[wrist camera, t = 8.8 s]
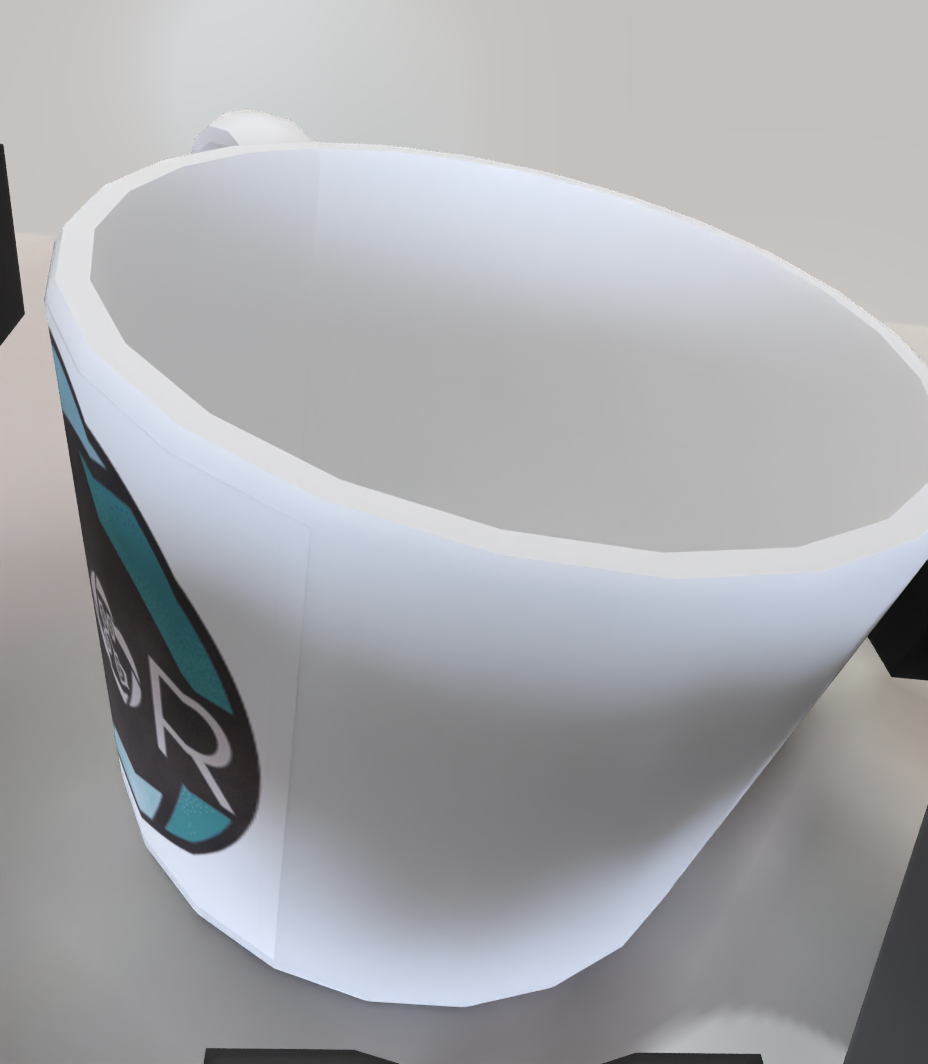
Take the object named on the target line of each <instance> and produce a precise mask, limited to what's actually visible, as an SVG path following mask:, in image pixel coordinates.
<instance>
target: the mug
mask: <svg viewBox="0 0 928 1064" xmlns="http://www.w3.org/2000/svg"><path fill="white" fill-rule="evenodd" d="M44 302H45V308H46V314H47V320H48V326H49V332H50V338H51V345H52V351H53V357H54V363H55V369H56V375H57V381H58V388H59V394H60V400H61V406H62V412H63V418H64V425H65V431H66V437H67V443H68V449H69V455H70V461H71V468H72V474H73V480H74V486H75V492H76V498H77V504H78V511H79V517H80V523H81V529H82V535H83V541H84V547H85V554H86V560H87V566H88V572H89V578H90V584H91V590H92V597H93V603H94V609H95V615H96V621H97V627H98V633H99V640H100V646H101V652H102V658H103V664H104V670H105V677H106V683H107V689H108V695H109V701H110V707H111V713H112V720H113V726H114V732H115V738H116V744H117V750H118V756H119V763H120V767H121V775H122V778H123V781H124V784H125V787H126V790H127V793H128V796H129V799H130V801H131V804H132V807H133V810H134V813H135V816H136V819H137V822H138V825H139V828H140V831H141V834H142V837H143V840H144V843H145V846H146V847H147V849H148V850H149V851H150V852H151V854H152V855H153V856H154V858H155V859H156V860H157V862H158V863H159V864H160V866H161V867H162V868H163V870H164V871H165V872H166V873H167V875H168V876H169V877H170V879H171V880H172V881H173V883H174V884H175V885H176V887H177V888H178V889H179V891H180V892H181V893H182V894H183V896H184V897H185V898H186V900H187V901H188V902H189V904H190V905H191V906H192V908H193V909H194V910H195V912H196V913H197V914H198V915H200V916H201V917H203V918H204V919H205V920H207V921H208V922H210V923H211V924H212V925H214V926H215V927H217V928H218V929H219V930H221V931H222V932H224V933H225V934H226V935H228V936H229V937H231V938H232V939H233V940H235V941H236V942H238V943H239V944H240V945H242V946H243V947H245V948H246V949H247V950H249V951H250V952H252V953H253V954H254V955H256V956H257V957H259V958H260V959H261V960H263V961H264V962H266V963H267V964H268V965H270V966H271V967H273V968H275V969H277V970H280V971H283V972H286V973H289V974H291V975H294V976H297V977H300V978H303V979H306V980H308V981H311V982H314V983H317V984H320V985H323V986H325V987H328V988H331V989H334V990H337V991H339V992H342V993H345V994H348V995H351V996H354V997H356V998H359V999H362V1000H365V1001H373V1002H389V1003H404V1004H419V1005H435V1006H450V1007H468V1006H472V1005H477V1004H481V1003H486V1002H490V1001H494V1000H499V999H503V998H508V997H512V996H517V995H521V994H526V993H530V992H534V991H539V990H543V989H548V988H552V987H554V986H556V985H558V984H559V983H561V982H563V981H564V980H566V979H568V978H569V977H571V976H573V975H575V974H576V973H578V972H580V971H581V970H583V969H585V968H587V967H588V966H590V965H592V964H593V963H595V962H597V961H598V960H600V959H602V958H604V957H605V956H607V955H609V954H610V953H612V952H614V951H616V950H617V949H619V948H621V947H622V946H623V945H624V944H625V943H626V942H627V941H628V939H629V938H630V937H631V936H632V935H633V934H634V932H635V931H636V930H637V929H638V928H639V927H640V925H641V924H642V923H643V922H644V921H645V919H646V918H647V917H648V916H649V915H650V914H651V912H652V911H653V910H654V909H655V908H656V907H657V905H658V904H659V903H660V902H661V901H662V900H663V898H664V897H665V896H666V895H667V894H668V892H669V891H670V890H671V888H672V887H673V885H674V884H675V882H676V881H677V880H678V879H679V877H680V876H681V875H682V873H683V872H684V871H685V870H686V868H687V867H688V866H689V864H690V863H691V862H692V861H693V859H694V858H695V857H696V855H697V854H698V853H699V852H700V850H701V849H702V848H703V847H704V845H705V844H706V843H707V841H708V840H709V839H710V838H711V836H712V835H713V834H714V832H715V831H716V830H717V829H718V827H719V826H720V825H721V823H722V822H723V821H724V820H725V818H726V817H727V816H728V814H729V813H730V812H731V811H732V809H733V808H734V807H735V805H736V804H737V803H738V802H739V800H740V799H741V798H742V796H743V795H744V794H745V793H746V791H747V790H748V789H749V788H750V786H751V785H752V784H753V782H754V781H755V780H756V779H757V777H758V776H759V775H760V773H761V772H762V771H763V770H764V768H765V767H766V766H767V764H768V763H769V762H770V761H771V759H772V758H773V757H774V755H775V754H776V753H777V752H778V750H779V749H780V748H781V746H782V745H783V744H784V743H785V741H786V740H787V739H788V737H789V736H790V735H791V734H792V732H793V731H794V730H795V729H796V727H797V726H798V725H799V723H800V722H801V721H802V720H803V718H804V717H805V716H806V714H807V713H808V712H809V711H810V709H811V708H812V707H813V705H814V704H815V703H816V702H817V700H818V699H819V698H820V696H821V695H822V694H823V693H824V691H825V690H826V689H827V687H828V686H829V685H830V684H831V682H832V681H833V680H834V678H835V677H836V676H837V675H838V673H839V672H840V671H841V669H842V668H843V667H844V666H845V664H846V663H847V662H848V661H849V659H850V658H851V657H852V655H853V654H854V653H855V652H856V650H857V649H858V648H859V646H860V645H861V644H862V643H863V641H864V640H865V639H866V637H867V636H868V635H869V634H870V632H871V631H872V630H873V628H874V627H875V626H876V625H877V623H878V622H879V621H880V619H881V618H882V617H883V616H884V614H885V613H886V612H887V610H888V609H889V608H890V607H891V605H892V604H893V603H894V602H895V600H896V599H897V598H898V596H899V595H900V594H901V593H902V591H903V590H904V589H905V587H906V586H907V585H908V584H909V582H910V581H911V580H912V578H913V577H914V576H915V575H916V573H917V572H918V571H919V569H920V568H921V567H922V566H923V564H924V563H925V562H926V560H927V559H928V366H927V365H926V364H925V363H924V362H923V361H922V360H921V359H920V358H919V357H918V356H917V355H916V354H915V353H914V352H913V350H912V349H911V348H910V347H909V346H908V345H907V344H906V343H905V342H904V341H903V340H902V339H901V338H900V337H899V336H898V335H897V334H896V333H895V332H893V331H892V330H891V329H889V328H888V327H887V326H885V325H884V324H883V323H881V322H880V321H878V320H877V319H876V318H874V317H873V316H872V315H870V314H869V313H868V312H866V311H865V310H864V309H862V308H861V307H860V306H858V305H857V304H856V303H854V302H853V301H851V300H850V299H849V298H847V297H846V296H845V295H843V294H842V293H841V292H839V291H838V290H836V289H834V288H833V287H831V286H829V285H827V284H825V283H824V282H822V281H820V280H818V279H817V278H815V277H813V276H811V275H809V274H808V273H806V272H804V271H802V270H801V269H799V268H797V267H795V266H794V265H792V264H790V263H788V262H787V261H785V260H783V259H781V258H779V257H777V256H776V255H774V254H772V253H771V252H768V251H766V250H764V249H762V248H759V247H757V246H755V245H753V244H751V243H748V242H746V241H744V240H742V239H739V238H737V237H735V236H733V235H731V234H728V233H726V232H724V231H722V230H719V229H717V228H715V227H713V226H710V225H708V224H706V223H704V222H702V221H699V220H697V219H694V218H691V217H688V216H685V215H683V214H680V213H677V212H674V211H672V210H669V209H666V208H663V207H660V206H658V205H655V204H652V203H649V202H646V201H644V200H641V199H638V198H635V197H632V196H630V195H627V194H624V193H621V192H617V191H614V190H610V189H606V188H603V187H599V186H596V185H592V184H588V183H585V182H581V181H578V180H574V179H570V178H567V177H563V176H560V175H556V174H552V173H549V172H545V171H540V170H536V169H531V168H525V167H521V166H516V165H511V164H506V163H501V162H496V161H492V160H487V159H482V158H477V157H472V156H467V155H460V154H452V153H444V152H436V151H429V150H421V149H413V148H405V147H398V146H390V145H373V144H372V145H371V144H351V143H328V142H313V141H312V140H311V138H310V137H309V136H308V135H307V134H306V133H305V132H304V131H303V130H302V129H301V128H300V127H299V126H298V125H296V124H295V123H294V122H293V121H292V120H289V119H286V118H282V117H279V116H275V115H272V114H268V113H264V112H259V111H254V110H250V109H244V110H238V111H233V112H227V113H223V114H222V115H221V116H220V117H219V118H217V119H216V120H215V121H214V122H213V123H212V124H211V125H210V126H208V127H207V128H206V129H205V130H204V131H203V132H201V133H200V134H199V135H198V136H197V137H196V138H195V139H194V142H193V147H192V152H191V154H190V155H185V156H180V157H174V158H169V159H164V160H161V161H159V162H157V163H154V164H152V165H149V166H147V167H145V168H143V169H140V170H138V171H136V172H133V173H131V174H129V175H126V176H124V177H122V178H120V179H117V180H115V181H113V182H110V183H108V184H106V185H104V186H103V187H101V189H100V190H98V192H96V193H95V194H94V196H92V197H91V198H90V199H89V200H88V201H87V202H86V203H85V205H83V206H82V207H81V208H80V209H79V211H78V212H76V214H74V215H73V216H72V217H71V218H70V219H69V220H68V221H67V222H66V223H65V224H64V226H63V228H62V230H61V232H60V234H59V236H58V238H57V240H56V241H55V242H54V247H53V253H52V258H51V264H50V270H49V275H48V281H47V286H46V292H45V298H44Z"/></svg>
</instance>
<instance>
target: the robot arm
mask: <svg viewBox="0 0 928 1064" xmlns="http://www.w3.org/2000/svg"><path fill="white" fill-rule="evenodd" d="M24 314H25V312H24V304H23V296H22V288H21V280H20V272H19V265H18V257H17V249H16V241H15V233H14V225H13V217H12V209H11V202H10V194H9V186H8V178H7V170H6V162H5V155H4V147H3V144H0V345H1V344H2V343H3V342H4V340H5V339H6V338H7V336H8V335H9V334H10V333H11V331H12V330H13V329H14V327H15V326H16V325H17V323H18V322H19V321H20V320H21V318H22V317H23V316H24ZM868 638H869V640H870V641H871V643H872V645H873V646H874V648H875V650H876V652H877V653H878V655H879V657H880V658H881V660H882V662H883V663H884V665H885V667H886V669H887V670H888V672H889V674H890V675H891V677H897V678H908V679H918V680H928V559H927V560H926V562H925V563H924V564H923V566H922V567H921V568H920V569H919V571H918V572H917V573H916V575H915V576H914V577H913V578H912V580H911V581H910V582H909V584H908V585H907V586H906V587H905V589H904V590H903V591H902V593H901V594H900V595H899V596H898V598H897V599H896V600H895V602H894V603H893V604H892V605H891V607H890V608H889V609H888V610H887V612H886V613H885V614H884V616H883V617H882V618H881V619H880V621H879V622H878V623H877V625H876V626H875V627H874V628H873V630H872V631H871V632H870V634H869V635H868ZM204 1064H398V1063H395V1062H392V1061H388V1060H385V1059H382V1058H379V1057H375V1056H372V1055H369V1054H366V1053H362V1052H359V1051H356V1050H322V1049H226V1048H206V1052H205V1059H204ZM603 1064H763V1060H762V1057H761V1054H704V1053H703V1054H702V1053H634V1054H631V1055H628V1056H625V1057H621V1058H618V1059H615V1060H612V1061H609V1062H606V1063H603ZM843 1064H928V806H927V809H926V812H925V815H924V818H923V821H922V824H921V827H920V831H919V834H918V837H917V840H916V843H915V846H914V849H913V852H912V855H911V858H910V861H909V864H908V867H907V870H906V873H905V876H904V879H903V883H902V886H901V889H900V892H899V895H898V898H897V901H896V904H895V907H894V910H893V913H892V916H891V919H890V922H889V925H888V928H887V931H886V935H885V938H884V941H883V944H882V947H881V950H880V953H879V956H878V959H877V962H876V965H875V968H874V971H873V974H872V977H871V980H870V983H869V987H868V990H867V993H866V996H865V999H864V1002H863V1005H862V1008H861V1011H860V1014H859V1017H858V1020H857V1023H856V1026H855V1029H854V1032H853V1035H852V1039H851V1042H850V1045H849V1048H848V1051H847V1054H846V1057H845V1060H844V1063H843Z"/></svg>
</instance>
